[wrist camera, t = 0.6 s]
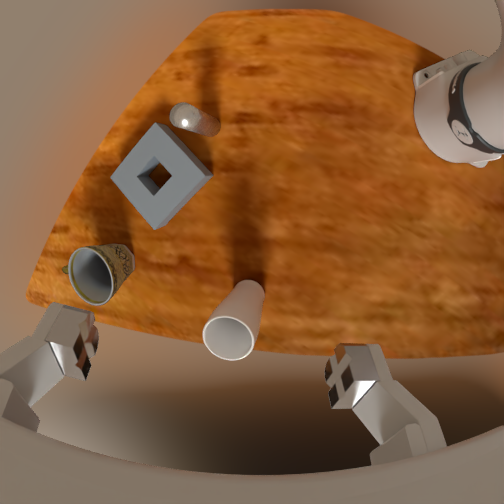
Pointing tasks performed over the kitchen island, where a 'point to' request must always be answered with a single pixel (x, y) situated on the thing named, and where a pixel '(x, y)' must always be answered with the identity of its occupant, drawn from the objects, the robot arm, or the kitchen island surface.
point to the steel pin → (194, 120)
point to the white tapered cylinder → (235, 322)
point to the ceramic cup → (99, 271)
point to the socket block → (177, 164)
